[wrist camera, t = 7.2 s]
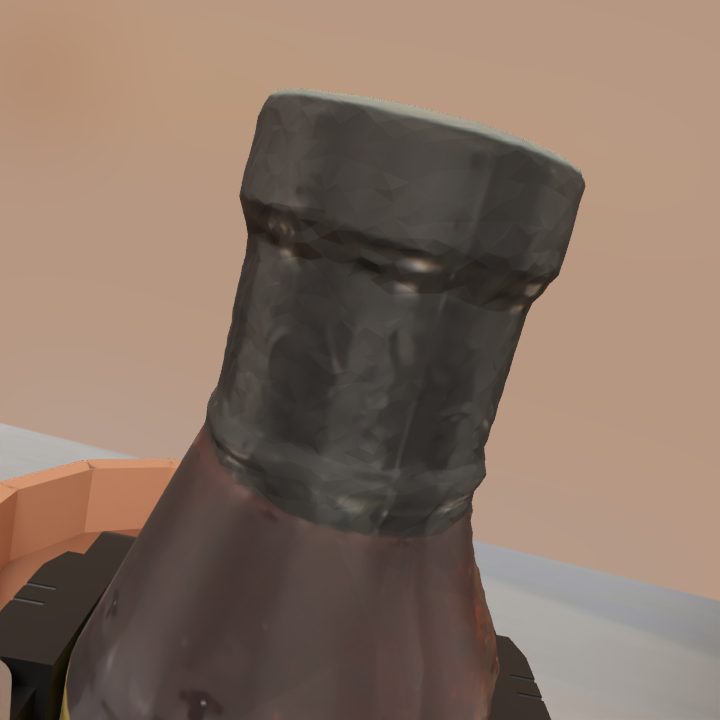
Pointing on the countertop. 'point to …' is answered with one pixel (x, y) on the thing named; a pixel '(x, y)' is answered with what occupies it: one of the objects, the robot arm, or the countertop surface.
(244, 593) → the sauce bottle
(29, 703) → the robot arm
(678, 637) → the countertop surface
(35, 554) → the terracotta bowl
